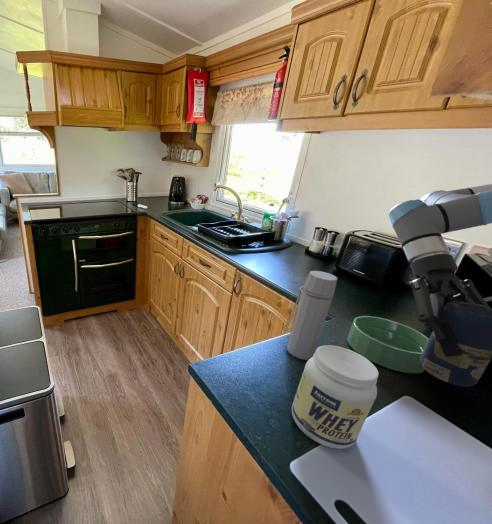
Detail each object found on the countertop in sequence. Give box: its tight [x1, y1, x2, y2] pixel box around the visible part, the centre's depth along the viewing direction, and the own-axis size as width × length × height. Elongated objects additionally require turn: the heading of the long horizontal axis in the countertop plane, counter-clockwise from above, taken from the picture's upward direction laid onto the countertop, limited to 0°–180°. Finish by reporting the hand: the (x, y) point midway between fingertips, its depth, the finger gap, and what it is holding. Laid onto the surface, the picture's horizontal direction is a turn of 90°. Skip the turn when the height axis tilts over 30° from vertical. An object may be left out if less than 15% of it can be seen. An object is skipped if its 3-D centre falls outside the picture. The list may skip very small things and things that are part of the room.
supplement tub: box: [291, 344, 379, 450], centre depth 59 cm, size 12×12×17 cm
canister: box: [420, 301, 492, 388], centre depth 63 cm, size 10×10×18 cm
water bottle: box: [285, 270, 338, 361], centre depth 81 cm, size 9×8×25 cm
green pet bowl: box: [346, 315, 430, 375], centre depth 87 cm, size 19×19×7 cm
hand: (475, 355), depth 60 cm, fingers closed on canister, 10 cm apart
